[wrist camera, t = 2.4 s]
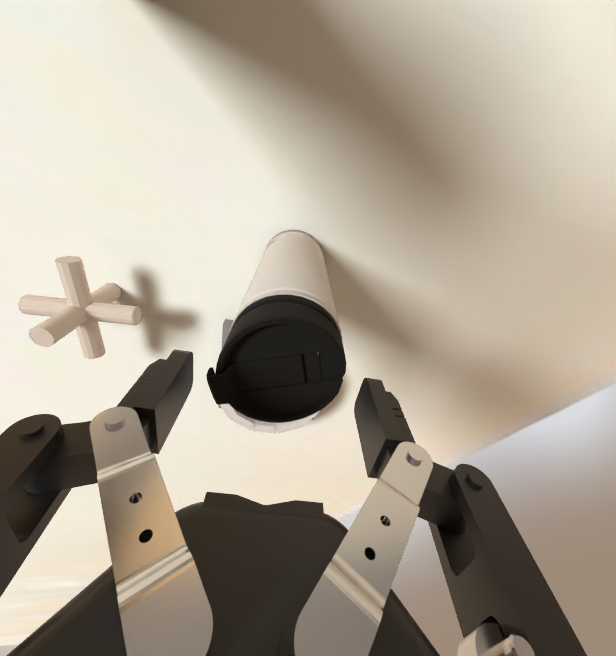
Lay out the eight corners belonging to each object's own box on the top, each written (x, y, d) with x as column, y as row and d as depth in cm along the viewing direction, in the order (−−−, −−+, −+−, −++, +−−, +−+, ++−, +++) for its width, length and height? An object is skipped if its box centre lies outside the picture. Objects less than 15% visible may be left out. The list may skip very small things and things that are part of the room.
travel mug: (255, 233, 29) (185, 333, 12) (320, 225, 29) (348, 316, 11) (266, 290, 32) (224, 437, 15) (325, 284, 32) (352, 426, 14)
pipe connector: (153, 251, 30) (92, 286, 21) (164, 333, 35) (118, 389, 26) (51, 239, 29) (-57, 270, 20) (77, 324, 34) (-1, 379, 25)
